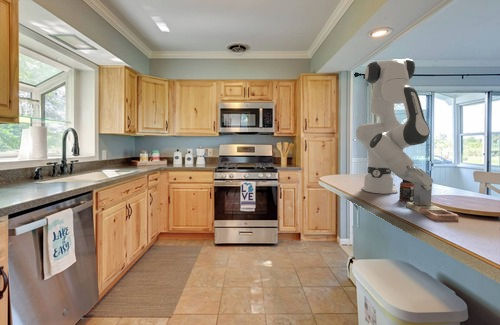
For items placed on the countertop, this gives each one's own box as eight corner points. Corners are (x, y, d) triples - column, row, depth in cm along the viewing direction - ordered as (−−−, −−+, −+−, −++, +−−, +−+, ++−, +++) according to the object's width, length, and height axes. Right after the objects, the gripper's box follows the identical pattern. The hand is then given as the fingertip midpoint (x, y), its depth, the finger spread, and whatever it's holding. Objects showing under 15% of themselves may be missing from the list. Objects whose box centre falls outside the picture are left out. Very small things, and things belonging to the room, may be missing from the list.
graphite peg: (413, 207, 110) (414, 178, 109) (423, 207, 110) (425, 178, 109) (419, 210, 106) (420, 180, 104) (430, 210, 105) (432, 180, 104)
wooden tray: (406, 206, 112) (406, 202, 112) (425, 206, 112) (425, 202, 111) (435, 220, 93) (435, 215, 93) (458, 220, 93) (458, 215, 92)
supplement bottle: (416, 202, 118) (417, 179, 117) (402, 202, 119) (403, 179, 118) (410, 199, 124) (411, 177, 123) (397, 199, 125) (398, 177, 124)
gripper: (422, 162, 96) (447, 187, 96) (395, 158, 116) (416, 178, 116) (409, 174, 97) (434, 198, 97) (384, 167, 117) (405, 188, 117)
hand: (424, 187), depth 107 cm, fingers closed on graphite peg, 4 cm apart
